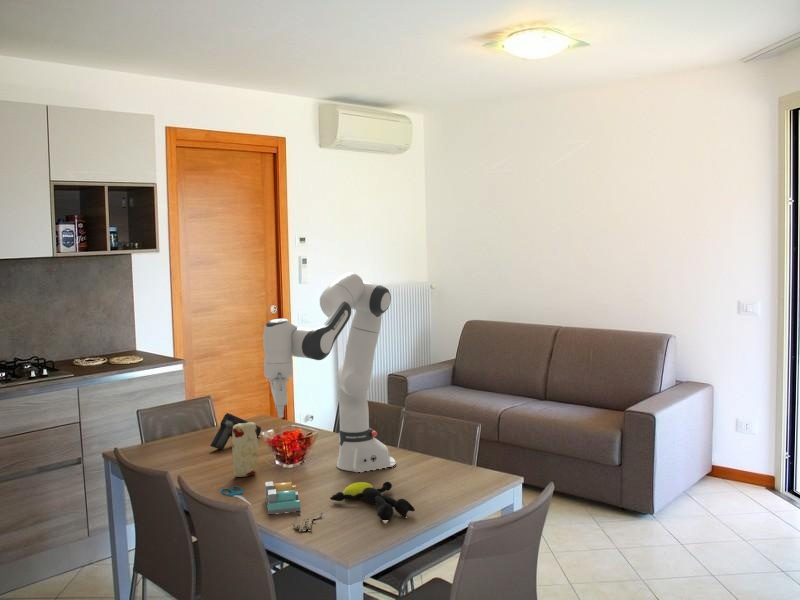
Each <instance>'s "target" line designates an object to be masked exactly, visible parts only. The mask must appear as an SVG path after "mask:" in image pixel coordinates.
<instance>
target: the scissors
mask: <svg viewBox="0 0 800 600" xmlns="http://www.w3.org/2000/svg"><path fill="white" fill-rule="evenodd" d="M233 488H234V489H238V490H239V491H236V490H234V489H233ZM224 490H225V491H228V490H229V493H226V492H225V491H224ZM220 493H221V494H222V495H224V496H226V497H234V498H238V499H239V500H240V501H241V500H242V501H244V502H245V503H246V504H249V505H250V506H252V505H251V502H249V501H248V500H247V499H246V498H245V497H243V496H242V495H244V490H243V488H241V487H240V486H231V487H230V488H221V489H220Z"/></svg>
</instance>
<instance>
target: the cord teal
mask: <svg viewBox="0 0 800 600" xmlns="http://www.w3.org/2000/svg"><path fill="white" fill-rule="evenodd" d="M287 501H296V493H295V490H290V491H279V492H276V489H274V490H268V503H277V502H287Z"/></svg>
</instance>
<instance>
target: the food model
mask: <svg viewBox="0 0 800 600" xmlns="http://www.w3.org/2000/svg"><path fill="white" fill-rule="evenodd" d="M231 438H232V439H231V440H232V441H231V452H232V453H231V454H232V467H233V469H232V470H233V476H234V477H236V478H237V477H238V478H239V477H240V478H241V477H242V478H243V477H249V476H254V475H256V473H257V468H258V458H259V438H257V430H256V422H252V421H248V423H239V424H236V425H234V426H233V433H232V437H231Z"/></svg>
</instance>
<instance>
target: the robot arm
mask: <svg viewBox="0 0 800 600" xmlns="http://www.w3.org/2000/svg"><path fill="white" fill-rule="evenodd" d="M391 300H392V296H391V292H390V289H388V288H387V287H385V286H384V285H381V284H379V285H378V284H377V283H373V282H370V281H367V280H363V279H362V277H361V276H360V275H358V274H356V273H355V272H346V273H344V274H342V275H341V276H339V277H338V278H337V279H335V280H334V281H333V282H332V283H330V284H329V285H328V286H327V287H326V288H325V289H324V291H322V293H321V295H320V297H319V307H320V309H321V311H322V313H323V314H324V315H325V316H326V317H327V318H328V319H326V321H325V322H324V324H323V325H322V326H320V327H313V328H311V327H300V326H297V325H294V324H293V323H291V322H290V320H289V319H287V318H276V319H275V318H274V319H270V320H268V321H267V322H266V323H265V325H264V328H263V338H262V340H263V341H262V345H263V347H262V348H263V351H264V359H263V370H264V371H263V372H264V373H263V374H264V376H263V377H264V378H267V379H268V382H269V386H270V391H271V395H272V397H273V401H274V405H275V411H276V412H277V418H279V419H281V418H284V417H285V413H284V412H285V406H288V387H287V382H289V378H290V377H292V376H293V374H294V373H293V371H294V370H293V358H292V357H296V358H304V359H310V360H315V361H322V360H324V359H326V358H327V357H328V355H330V353H331V352H332V349H333V346H334V344H335V342H336V341H337V339H338V338H339V335H340V334H341V332H342V331H343V329H344V328H345V326H346V325H347V324H348V322H349V320H350V318H351V316H352V310H355V312H354V315H353V318H352V320H351V323H350V324H351V325H350V329H349V332H348V336H347V340H346V345H345V352H344V354H345V355H344V360H343V364H342V365H341V366H340V367H339V369H338V370H337V375H336V379H337V381H336V382H337V394H338V396H337V397H338V407H339V410H338V411H339V429H338V444H339V451H338V458H337V463H336V467H337V468H338V469H340V470H342V471H349V472H353V473H358V472H360V473H365V472H364V471H367V472H371V471H370V470H373V471H377V470H376V469H379V470H383V469H382V468H385V469H387V468H386V467H391V466H394V465H395V464H396V460H395V459H394V457H392V456H390V452H389V449H388V447H387V446H386V445H385V444H384V443H383V442H381V441H380V440H378V439H377V438H375V437H377V436H378V432H377V431H376V430H374V429H373V428H371V427H370V422H369V421H370V420H369V418H370V417H369V414H370V413H369V404H368V403H369V402H368V395H367V394H368V393H367V392H368V391H369V388H370V385H371V380H372V373H373V367H374V359H375V358H374V357H375V352H376V347H377V344H378V341H379V340H378V339H379V334H380V330H381V325H382V316H383V314H384V313H386V311H388V309H389V307H390V304H391ZM395 466H396V465H395ZM395 466H394V467H395Z"/></svg>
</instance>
